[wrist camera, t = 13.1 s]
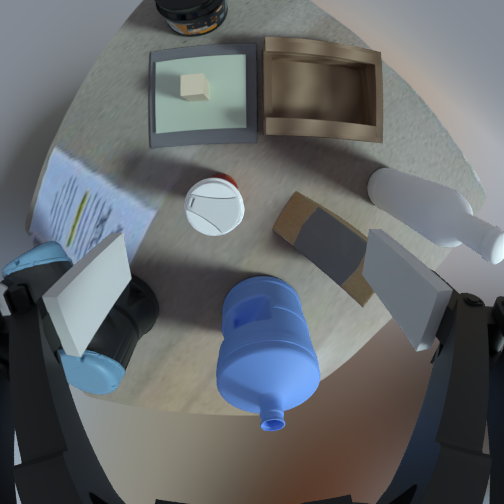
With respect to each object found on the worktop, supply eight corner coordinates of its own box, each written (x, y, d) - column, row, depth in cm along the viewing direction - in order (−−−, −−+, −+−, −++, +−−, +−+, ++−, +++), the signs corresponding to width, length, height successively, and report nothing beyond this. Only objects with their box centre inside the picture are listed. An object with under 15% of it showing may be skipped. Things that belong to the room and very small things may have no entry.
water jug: (313, 290, 56) (356, 400, 30) (278, 344, 61) (293, 454, 35) (241, 262, 53) (240, 376, 27) (212, 323, 58) (197, 438, 32)
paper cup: (193, 202, 48) (174, 227, 35) (207, 161, 45) (193, 170, 32) (235, 217, 49) (232, 247, 36) (251, 176, 47) (253, 192, 34)
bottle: (360, 177, 47) (474, 234, 19) (393, 160, 46) (517, 199, 18) (375, 215, 50) (479, 296, 22) (406, 197, 48) (519, 261, 21)
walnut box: (262, 135, 44) (266, 134, 37) (262, 50, 38) (265, 36, 31) (363, 141, 44) (382, 143, 37) (363, 61, 38) (380, 52, 31)
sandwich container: (295, 188, 48) (316, 210, 34) (361, 230, 51) (397, 264, 37) (270, 229, 51) (280, 266, 37) (336, 266, 54) (363, 309, 40)
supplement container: (166, 41, 36) (145, 18, 25) (170, -4, 32) (153, -33, 21) (227, 36, 37) (222, 8, 26) (229, -9, 33) (225, -43, 21)
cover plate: (157, 133, 43) (141, 133, 35) (157, 63, 38) (142, 51, 30) (246, 127, 43) (246, 125, 36) (245, 55, 38) (245, 41, 31)
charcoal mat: (151, 148, 44) (151, 148, 44) (151, 52, 37) (151, 52, 37) (256, 142, 44) (256, 142, 44) (256, 44, 37) (256, 43, 37)
